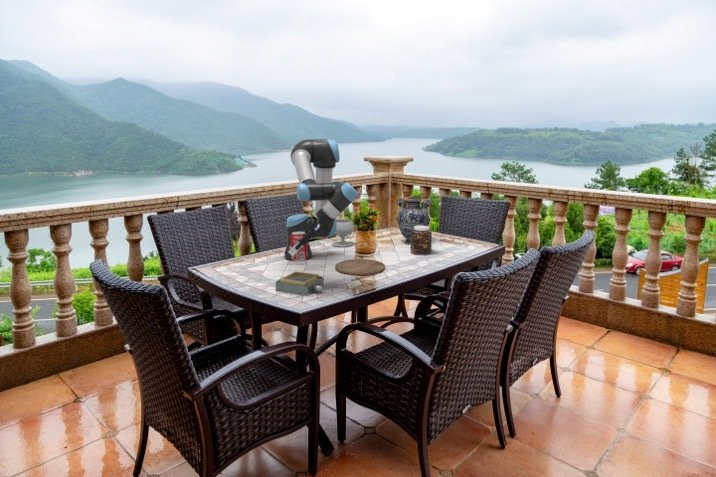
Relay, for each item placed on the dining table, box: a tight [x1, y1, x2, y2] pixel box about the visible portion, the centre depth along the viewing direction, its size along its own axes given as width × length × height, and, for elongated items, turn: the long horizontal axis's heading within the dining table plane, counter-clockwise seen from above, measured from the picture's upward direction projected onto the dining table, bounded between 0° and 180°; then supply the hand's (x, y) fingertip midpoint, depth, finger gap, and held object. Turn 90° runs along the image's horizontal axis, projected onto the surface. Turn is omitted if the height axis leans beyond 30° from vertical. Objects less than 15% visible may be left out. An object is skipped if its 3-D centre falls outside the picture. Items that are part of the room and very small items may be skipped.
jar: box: [409, 225, 433, 256], centre depth 267 cm, size 12×12×15 cm
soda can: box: [291, 231, 308, 262], centre depth 204 cm, size 7×7×12 cm
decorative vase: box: [396, 196, 433, 245], centre depth 290 cm, size 21×19×28 cm
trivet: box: [334, 258, 386, 277], centre depth 238 cm, size 25×25×2 cm
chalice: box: [332, 218, 355, 248], centre depth 287 cm, size 14×14×15 cm
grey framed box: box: [275, 270, 325, 296], centre depth 207 cm, size 20×14×5 cm
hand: (291, 251), depth 204 cm, fingers closed on soda can, 7 cm apart
